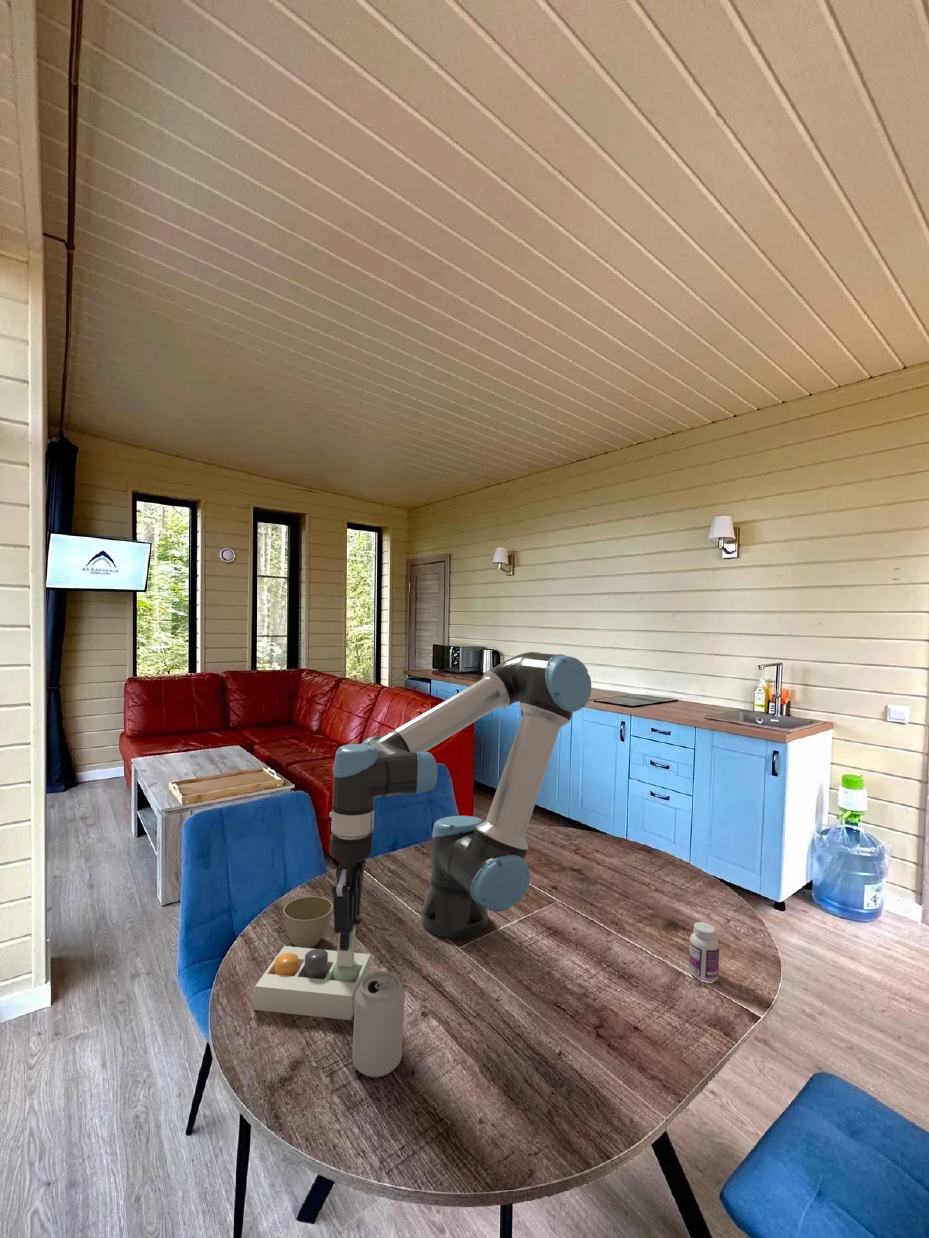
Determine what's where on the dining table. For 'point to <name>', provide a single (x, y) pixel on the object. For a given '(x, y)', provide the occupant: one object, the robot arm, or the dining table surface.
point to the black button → (316, 964)
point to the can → (378, 1024)
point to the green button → (345, 973)
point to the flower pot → (307, 920)
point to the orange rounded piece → (286, 964)
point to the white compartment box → (310, 989)
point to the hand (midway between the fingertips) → (345, 963)
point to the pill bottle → (704, 952)
